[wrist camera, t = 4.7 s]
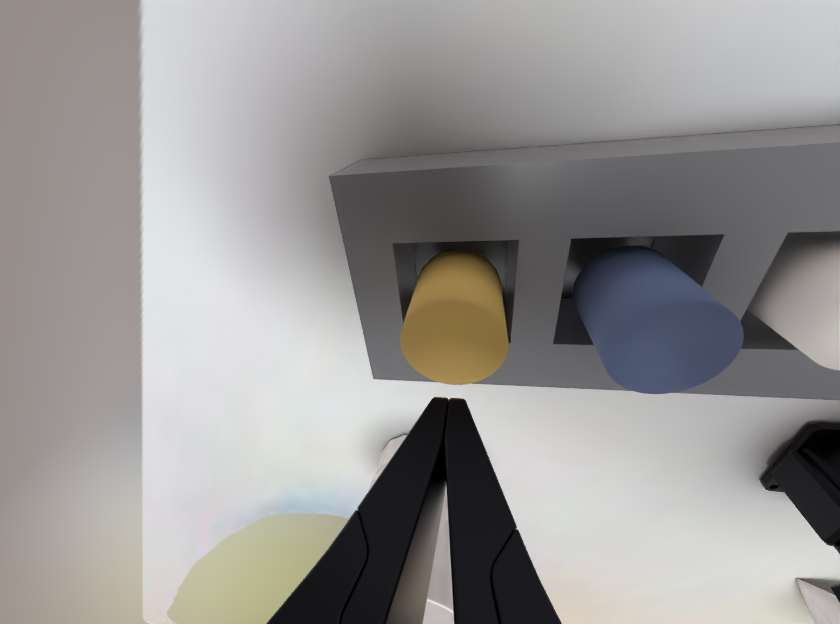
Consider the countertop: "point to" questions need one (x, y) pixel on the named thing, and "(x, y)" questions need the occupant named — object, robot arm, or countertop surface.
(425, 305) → the ochre key
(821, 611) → the pouch
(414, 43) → the countertop surface
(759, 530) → the countertop surface
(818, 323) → the white key
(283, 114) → the countertop surface
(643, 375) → the navy key
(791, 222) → the key block
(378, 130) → the countertop surface
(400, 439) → the white cup
